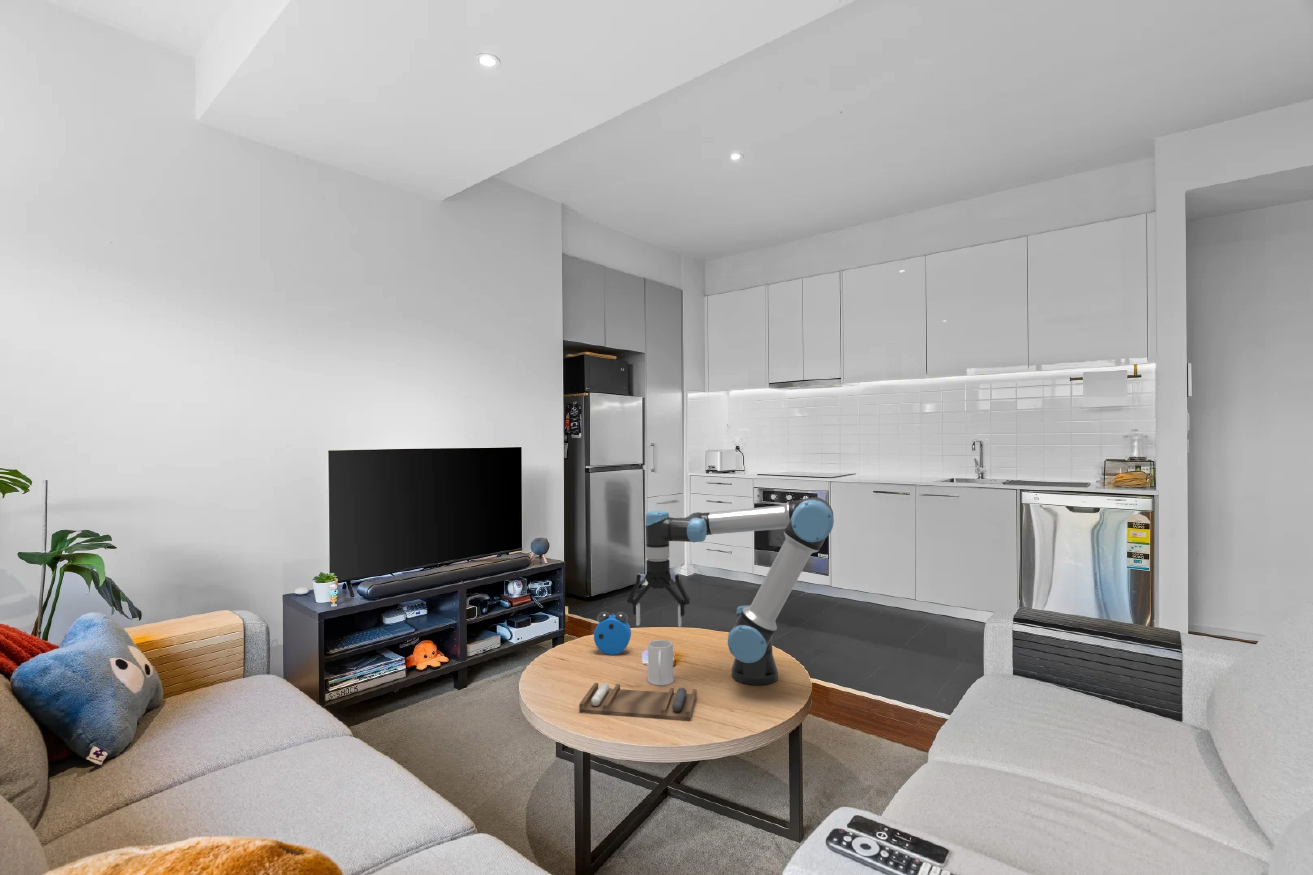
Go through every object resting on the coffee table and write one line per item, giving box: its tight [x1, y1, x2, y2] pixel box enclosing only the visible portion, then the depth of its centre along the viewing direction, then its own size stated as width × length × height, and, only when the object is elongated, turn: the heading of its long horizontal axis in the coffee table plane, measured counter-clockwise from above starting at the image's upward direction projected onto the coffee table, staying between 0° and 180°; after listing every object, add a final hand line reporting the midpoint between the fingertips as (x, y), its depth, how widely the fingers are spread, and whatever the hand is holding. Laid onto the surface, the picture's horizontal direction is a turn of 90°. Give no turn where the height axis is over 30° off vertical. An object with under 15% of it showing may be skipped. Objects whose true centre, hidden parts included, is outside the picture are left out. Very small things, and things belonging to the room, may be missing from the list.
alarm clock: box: [593, 611, 632, 656], centre depth 230 cm, size 13×6×15 cm, turn 85°
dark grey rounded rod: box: [672, 687, 688, 712], centre depth 182 cm, size 3×13×3 cm, turn 170°
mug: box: [647, 639, 675, 686], centre depth 201 cm, size 12×8×12 cm
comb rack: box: [578, 682, 698, 722], centre depth 184 cm, size 32×16×2 cm, turn 80°
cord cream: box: [591, 682, 610, 706], centre depth 186 cm, size 3×13×3 cm, turn 170°
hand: (659, 625), depth 201 cm, fingers open, 13 cm apart
